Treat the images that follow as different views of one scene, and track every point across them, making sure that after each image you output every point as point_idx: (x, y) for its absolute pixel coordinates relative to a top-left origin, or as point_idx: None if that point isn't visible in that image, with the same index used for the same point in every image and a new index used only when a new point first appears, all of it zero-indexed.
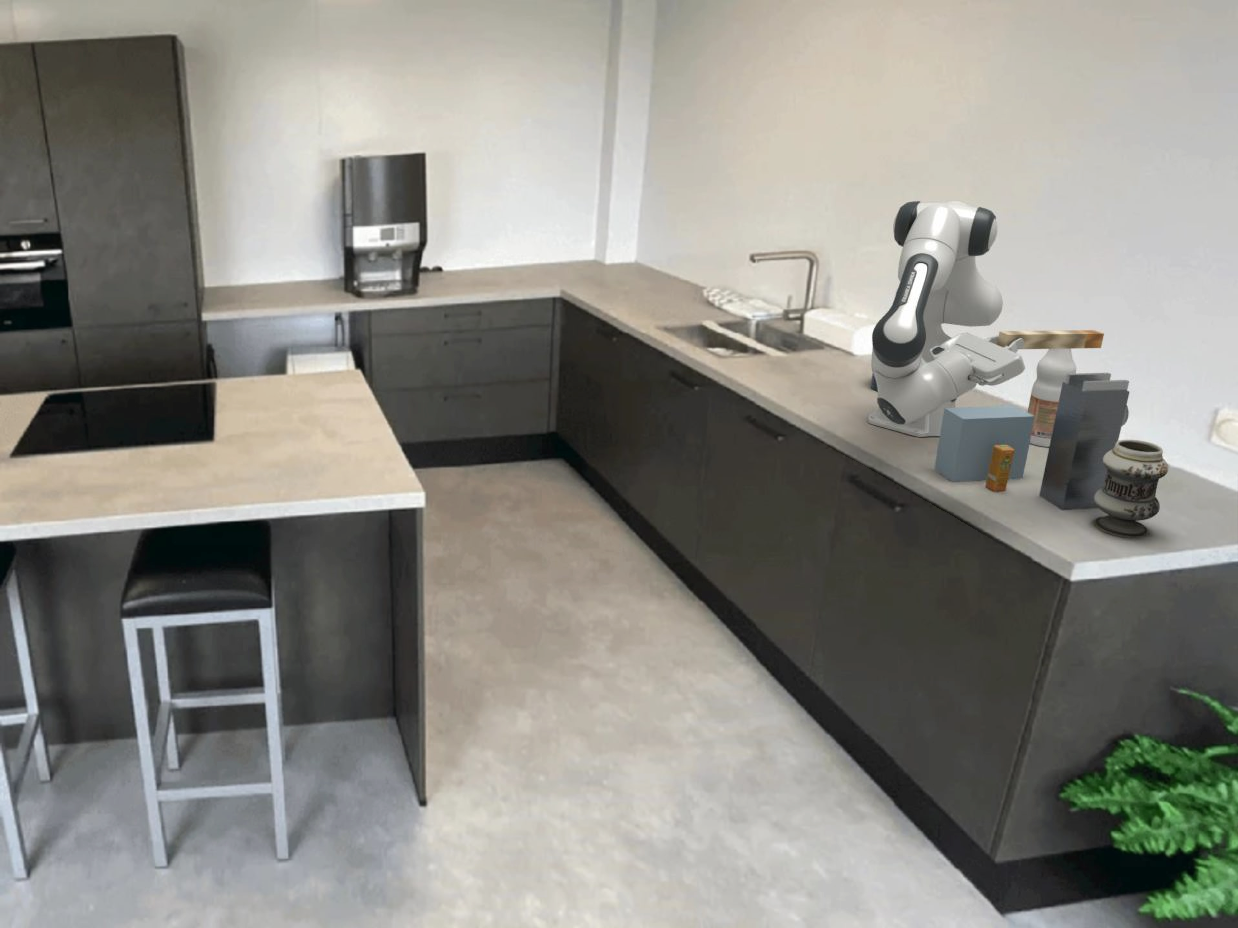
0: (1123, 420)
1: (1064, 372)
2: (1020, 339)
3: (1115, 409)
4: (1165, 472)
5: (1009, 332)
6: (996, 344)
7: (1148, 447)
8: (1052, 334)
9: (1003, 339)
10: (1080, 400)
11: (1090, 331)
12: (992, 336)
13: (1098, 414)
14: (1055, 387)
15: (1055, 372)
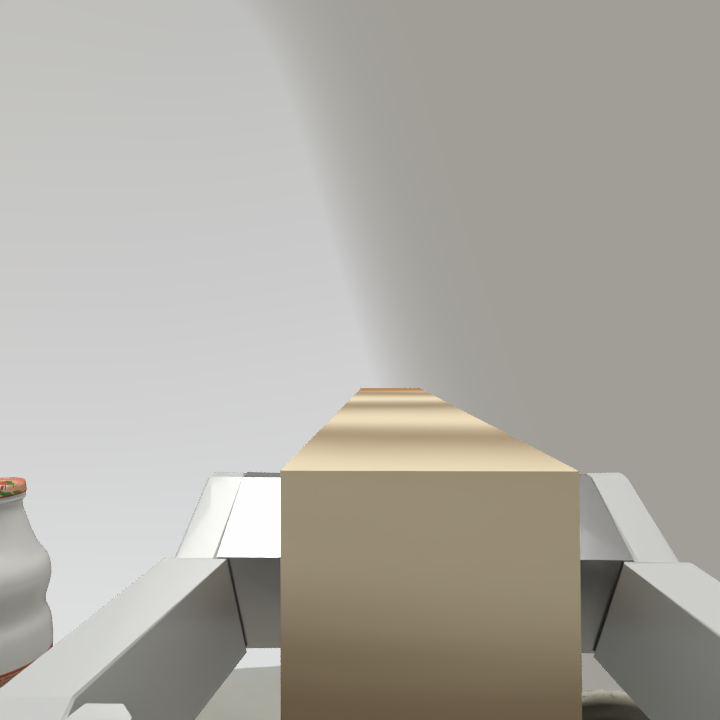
0: None
1: (33, 577)
2: (631, 490)
3: None
4: None
5: (392, 446)
6: (181, 718)
7: (583, 709)
8: (449, 404)
9: (453, 595)
10: None
11: (381, 389)
12: (88, 619)
13: None
14: (17, 626)
15: (10, 587)
